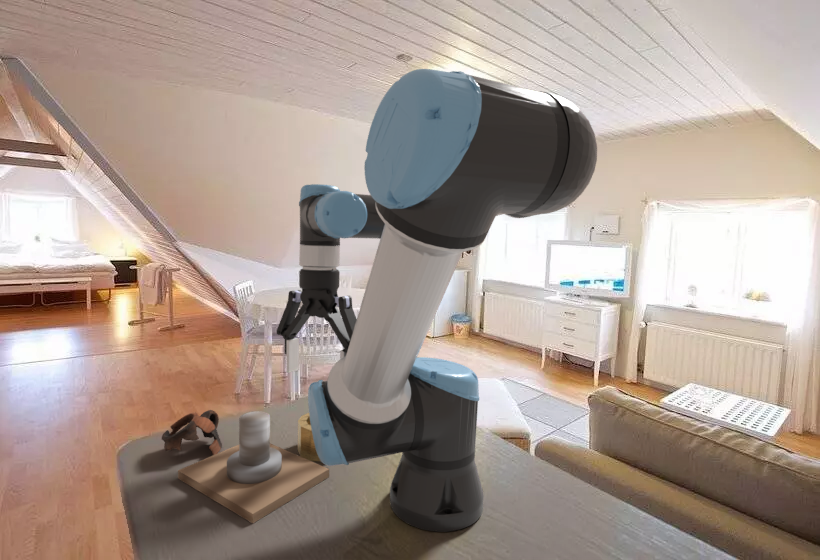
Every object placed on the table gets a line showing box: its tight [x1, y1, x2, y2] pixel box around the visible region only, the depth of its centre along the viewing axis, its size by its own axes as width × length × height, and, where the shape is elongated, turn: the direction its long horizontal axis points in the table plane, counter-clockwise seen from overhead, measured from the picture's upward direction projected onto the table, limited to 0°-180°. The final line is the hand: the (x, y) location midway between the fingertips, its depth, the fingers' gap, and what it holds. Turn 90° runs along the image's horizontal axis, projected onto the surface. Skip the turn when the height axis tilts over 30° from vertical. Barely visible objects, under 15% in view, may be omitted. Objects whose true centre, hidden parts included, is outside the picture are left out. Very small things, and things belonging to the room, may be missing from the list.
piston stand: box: [177, 410, 330, 524], centre depth 78 cm, size 20×16×11 cm
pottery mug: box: [161, 409, 223, 456], centre depth 89 cm, size 12×10×8 cm
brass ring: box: [297, 412, 322, 463], centre depth 90 cm, size 10×10×6 cm
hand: (318, 377), depth 88 cm, fingers open, 13 cm apart
